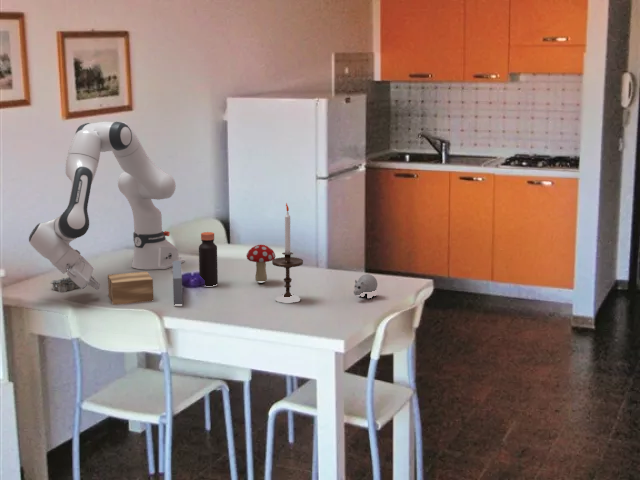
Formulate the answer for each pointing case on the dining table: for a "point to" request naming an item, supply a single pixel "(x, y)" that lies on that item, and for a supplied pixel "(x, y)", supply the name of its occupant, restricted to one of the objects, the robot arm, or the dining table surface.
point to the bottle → (208, 259)
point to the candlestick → (287, 256)
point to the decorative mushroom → (260, 260)
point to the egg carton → (64, 285)
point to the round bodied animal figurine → (365, 284)
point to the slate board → (177, 282)
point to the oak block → (130, 287)
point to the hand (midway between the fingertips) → (98, 287)
